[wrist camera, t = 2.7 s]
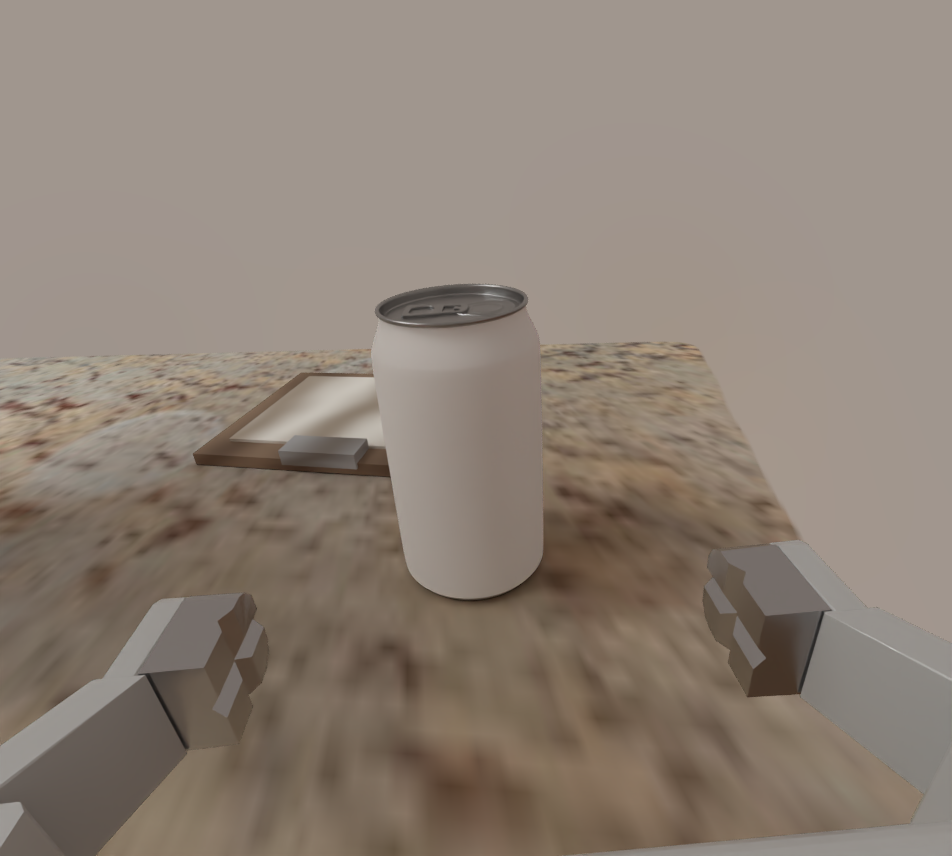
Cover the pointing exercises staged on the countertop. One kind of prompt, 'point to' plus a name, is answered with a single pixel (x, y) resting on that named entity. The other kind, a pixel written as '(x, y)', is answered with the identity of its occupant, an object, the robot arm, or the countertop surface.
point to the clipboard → (308, 429)
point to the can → (463, 435)
